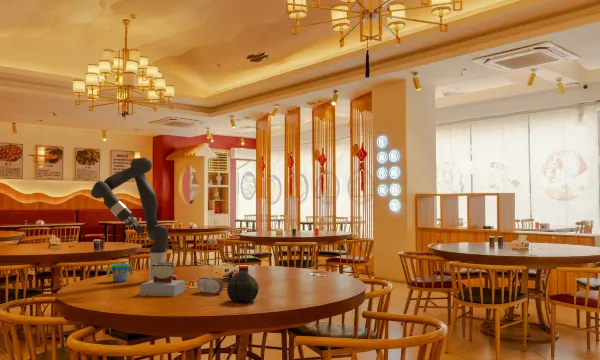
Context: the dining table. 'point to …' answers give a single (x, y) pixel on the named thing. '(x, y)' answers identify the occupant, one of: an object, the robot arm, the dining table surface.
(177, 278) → the pomegranate
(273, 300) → the dining table surface
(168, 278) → the food container
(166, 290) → the slate block
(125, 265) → the snack cup
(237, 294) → the squash
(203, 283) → the tin
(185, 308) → the dining table surface
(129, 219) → the robot arm
